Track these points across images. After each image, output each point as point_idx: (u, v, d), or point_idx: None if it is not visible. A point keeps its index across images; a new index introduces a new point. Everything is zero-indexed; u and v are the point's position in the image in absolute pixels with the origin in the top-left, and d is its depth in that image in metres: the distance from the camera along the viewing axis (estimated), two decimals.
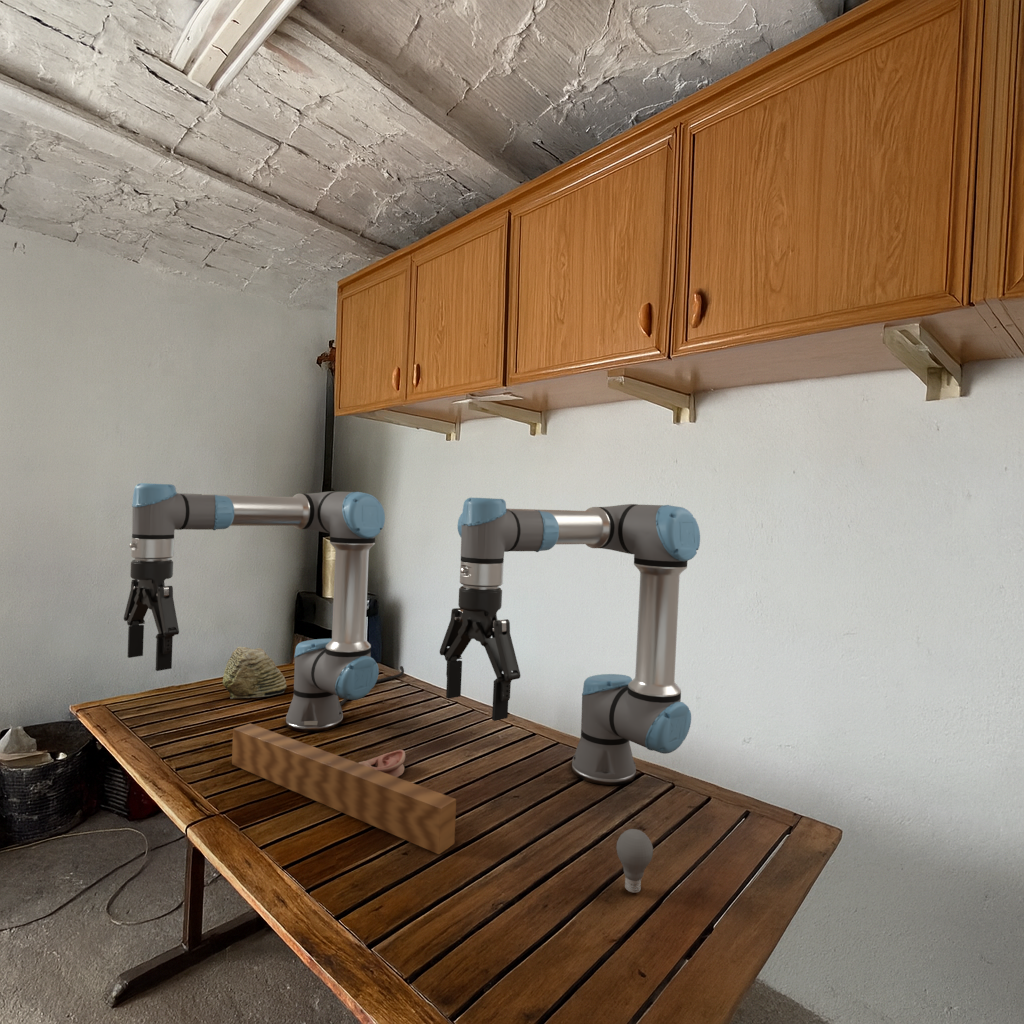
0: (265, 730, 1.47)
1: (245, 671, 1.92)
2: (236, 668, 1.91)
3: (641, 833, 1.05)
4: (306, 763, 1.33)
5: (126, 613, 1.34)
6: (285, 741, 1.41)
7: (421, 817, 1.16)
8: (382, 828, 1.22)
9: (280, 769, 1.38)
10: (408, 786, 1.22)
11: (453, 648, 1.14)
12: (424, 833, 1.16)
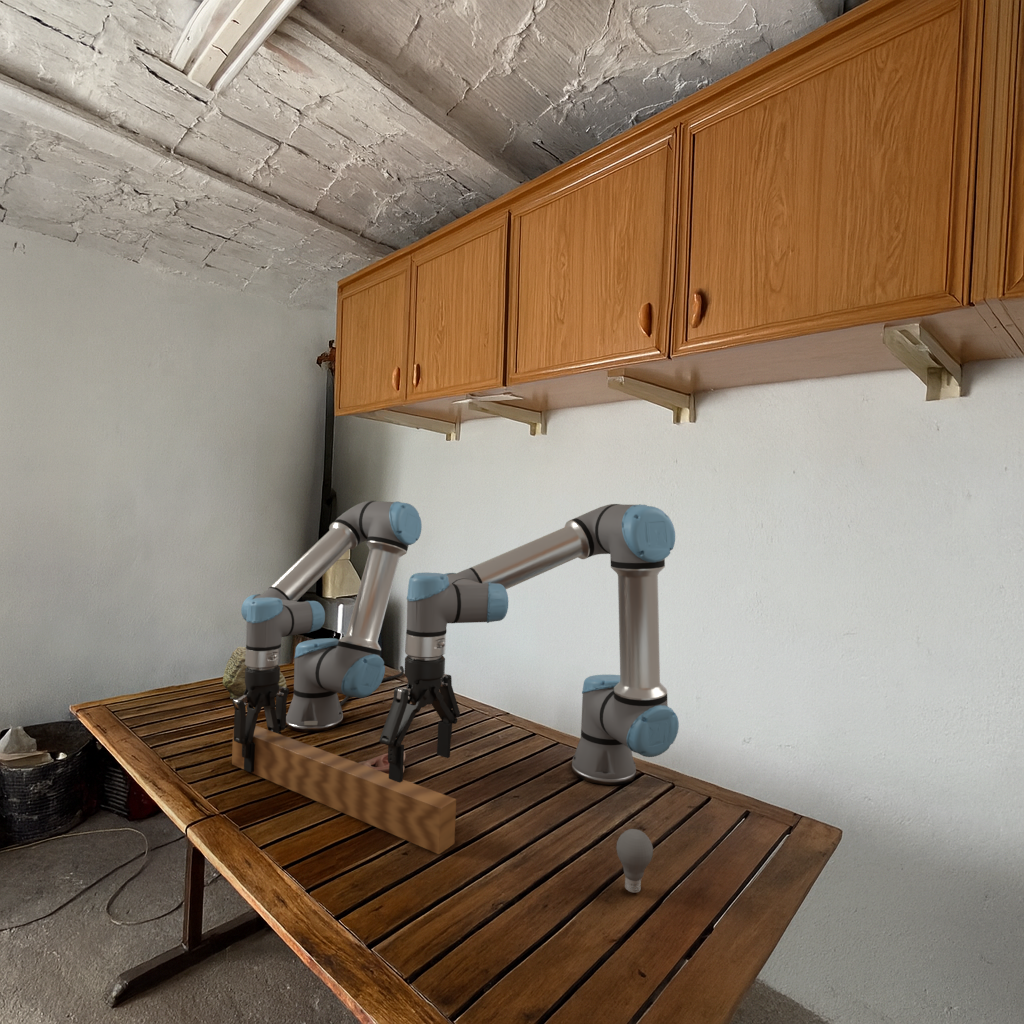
0: (265, 730, 1.47)
1: None
2: (236, 668, 1.91)
3: (641, 833, 1.05)
4: (306, 763, 1.33)
5: (242, 735, 1.40)
6: (285, 741, 1.41)
7: (421, 817, 1.16)
8: (382, 828, 1.22)
9: (280, 769, 1.38)
10: (408, 786, 1.22)
11: (406, 728, 1.14)
12: (424, 833, 1.16)
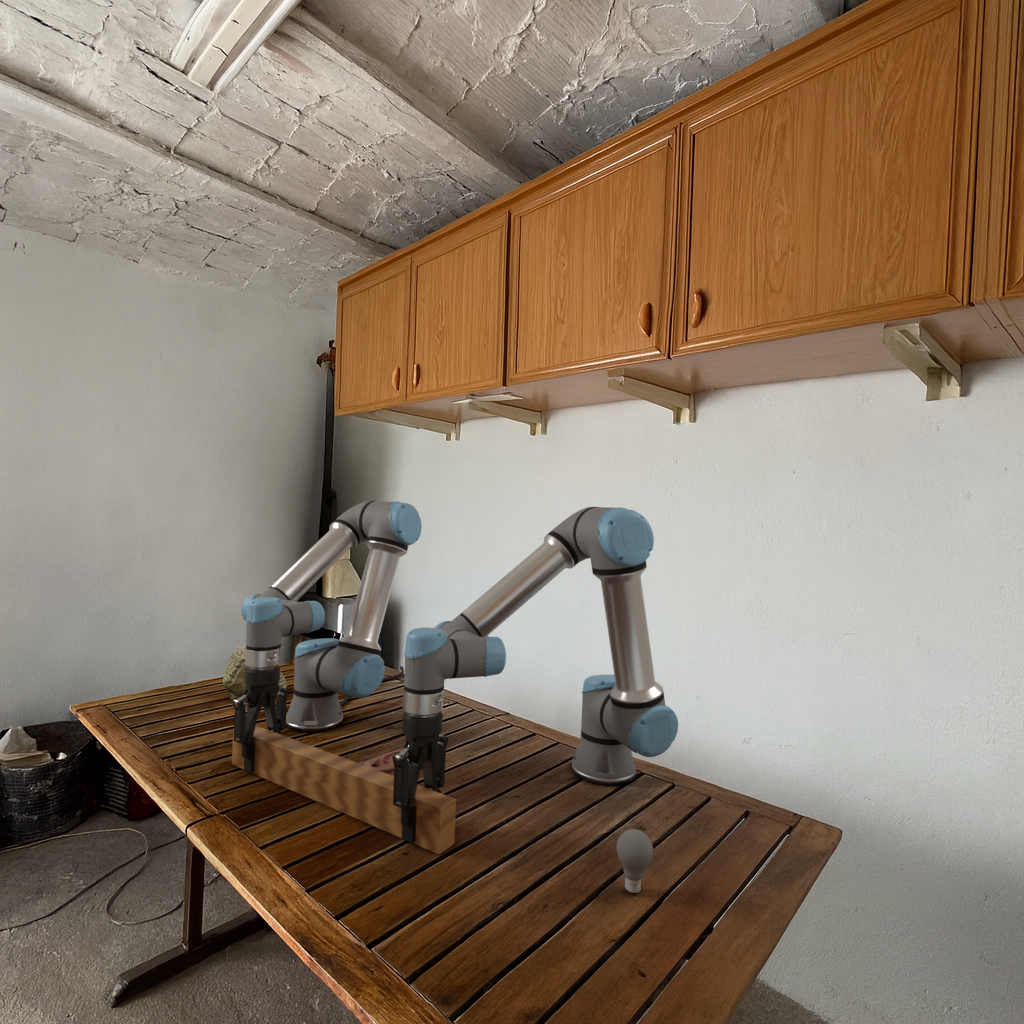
0: (265, 730, 1.47)
1: None
2: (236, 668, 1.91)
3: (641, 833, 1.05)
4: (306, 763, 1.33)
5: (242, 735, 1.40)
6: (285, 741, 1.41)
7: (421, 817, 1.16)
8: (382, 828, 1.22)
9: (280, 769, 1.38)
10: None
11: (415, 788, 1.17)
12: (424, 833, 1.16)
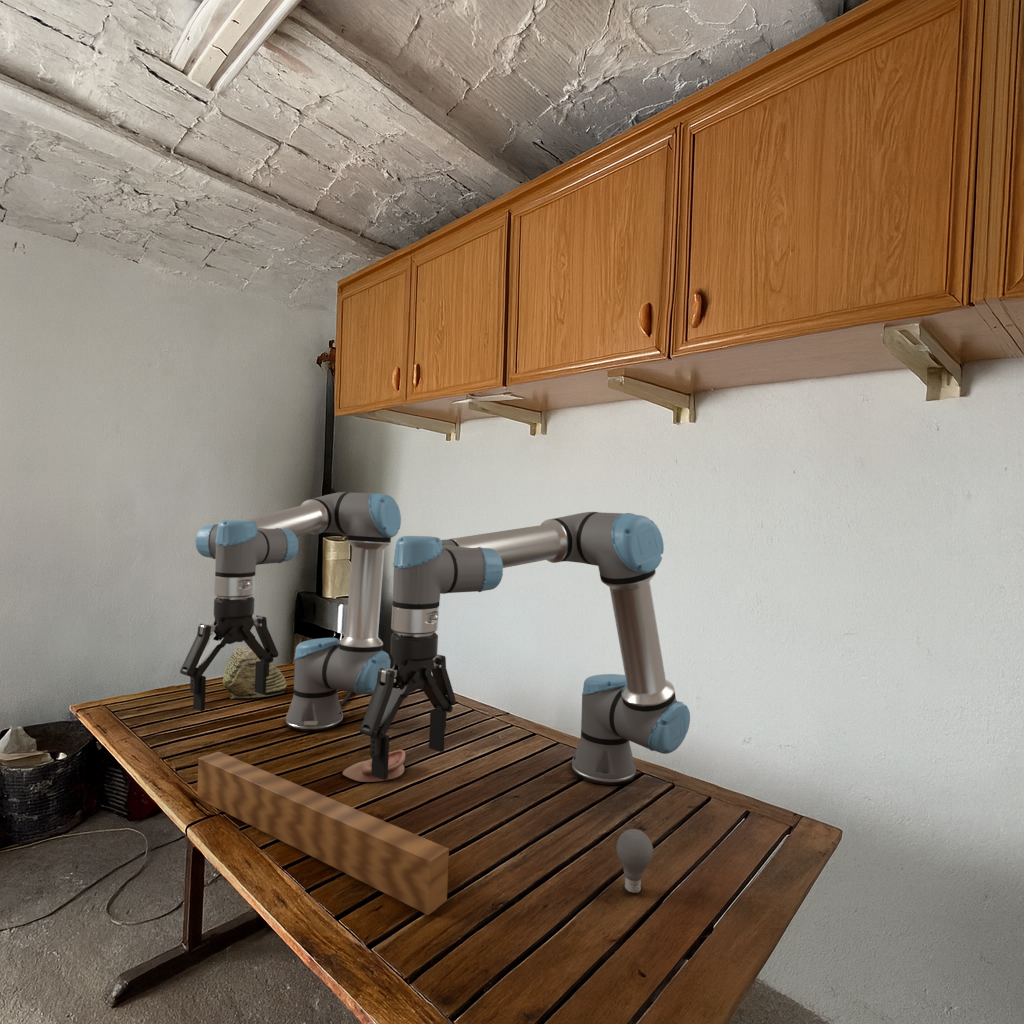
0: (235, 760, 1.30)
1: (245, 671, 1.92)
2: (236, 668, 1.91)
3: (641, 833, 1.05)
4: (278, 800, 1.17)
5: (192, 666, 1.20)
6: (256, 774, 1.24)
7: (408, 870, 1.00)
8: (364, 881, 1.05)
9: (249, 807, 1.21)
10: (393, 831, 1.05)
11: (392, 716, 0.97)
12: (411, 890, 0.99)
